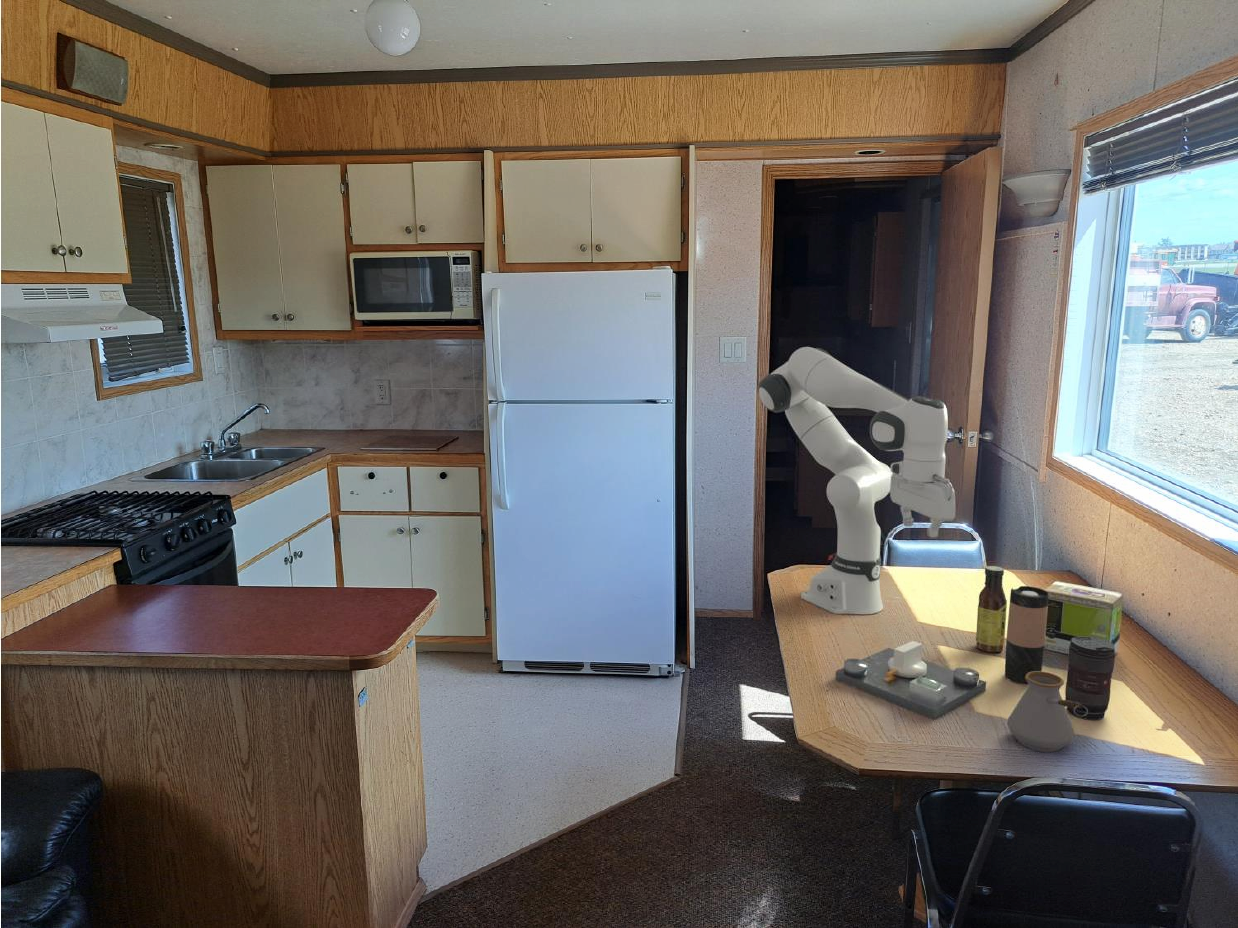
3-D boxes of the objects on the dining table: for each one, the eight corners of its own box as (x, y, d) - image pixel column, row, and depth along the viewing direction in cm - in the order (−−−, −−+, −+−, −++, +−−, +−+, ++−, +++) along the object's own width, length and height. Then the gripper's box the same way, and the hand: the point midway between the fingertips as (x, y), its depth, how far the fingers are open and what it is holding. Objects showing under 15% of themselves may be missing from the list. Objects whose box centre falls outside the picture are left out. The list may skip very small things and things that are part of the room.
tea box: (1118, 651, 205) (1125, 592, 202) (1107, 665, 198) (1114, 603, 195) (1050, 635, 215) (1055, 578, 212) (1037, 648, 208) (1042, 589, 205)
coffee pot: (997, 725, 171) (1003, 653, 168) (1058, 727, 170) (1064, 655, 167) (1039, 785, 150) (1047, 705, 147) (1109, 788, 149) (1118, 707, 146)
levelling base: (835, 679, 192) (836, 654, 191) (888, 655, 204) (889, 631, 203) (934, 719, 174) (935, 691, 172) (985, 690, 186) (987, 664, 185)
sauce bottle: (1006, 654, 204) (1012, 573, 200) (978, 652, 205) (984, 572, 202) (1000, 643, 211) (1006, 565, 207) (972, 642, 212) (978, 563, 208)
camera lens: (1118, 718, 173) (1125, 647, 170) (1085, 724, 171) (1092, 652, 168) (1086, 700, 181) (1092, 632, 178) (1054, 706, 179) (1060, 637, 176)
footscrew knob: (901, 659, 197) (903, 636, 196) (933, 671, 191) (935, 647, 190) (872, 672, 190) (873, 648, 189) (904, 685, 184) (905, 660, 183)
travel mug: (1043, 687, 187) (1051, 599, 183) (1004, 682, 190) (1011, 595, 186) (1039, 673, 194) (1047, 587, 190) (1002, 668, 197) (1009, 584, 193)
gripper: (965, 479, 184) (960, 542, 187) (910, 461, 203) (907, 519, 206) (939, 481, 182) (934, 544, 185) (886, 463, 202) (883, 520, 205)
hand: (919, 531), depth 196 cm, fingers open, 8 cm apart
